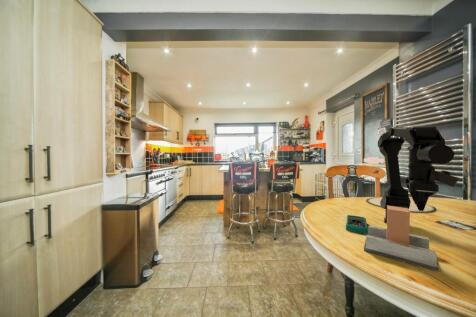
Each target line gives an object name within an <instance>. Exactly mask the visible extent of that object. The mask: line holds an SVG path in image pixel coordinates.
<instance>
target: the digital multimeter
mask: <svg viewBox="0 0 476 317" xmlns="http://www.w3.org/2000/svg"><path fill="white" fill-rule="evenodd" d="M368 229H369V227H368V225H367V218H366V217H363V216H358V215H351V214H348V215H346V224H345V230H346V231H347V232H348V231H349V232H352V233H353V232H354V233H357V234H364V235H367V234H368Z"/></svg>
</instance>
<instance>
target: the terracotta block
mask: <svg viewBox="0 0 476 317" xmlns="http://www.w3.org/2000/svg"><path fill="white" fill-rule="evenodd" d="M410 219H411V211H410V208H409V209H408V208H402V207H395V206H388V205H387V223H386V229H387V240H391V241H395V242H400V243H404V244H408V245H409V234H410V225H411V224H410V223H411V220H410Z"/></svg>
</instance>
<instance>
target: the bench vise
mask: <svg viewBox="0 0 476 317" xmlns="http://www.w3.org/2000/svg"><path fill="white" fill-rule="evenodd" d="M363 251H365V252H368V253H371V254H375V255H378V256H381V257H386V258H389V259H392V260H397V261H399V260H400V261H399V262H403V261H404V263H406V264H409V265H410V264H411V265H413V266H416V267H421V268H425V269H428V270H431V271H434V272H440V267H439V264H438V263H437V262H438V261H437V258H438V254H437V251H436V250H434V249H430V238H429V237H427V236H423V235H418V234H413V233H409V245H408V244H404V243H400V242H395V241H391V240H387V228H383V227H379V226H375V225H368V234H366V236H365V242H364V246H363Z"/></svg>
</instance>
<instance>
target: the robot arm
mask: <svg viewBox="0 0 476 317" xmlns="http://www.w3.org/2000/svg"><path fill="white" fill-rule="evenodd" d="M405 142H406V143H408V144H409V146H408V147H407V148H406V149H407V150H408V165H407V168H408V174H407V175H408V176H406V177H405V180H404V181H405V186H406V188H407V189H405V188H404V187H403V184H402V179H401V170H400V169H401V168H400V163H399V153H400V151H401V150H402V146H403V145H404V144H405ZM377 147H378V148H379V149H378V150H379V152H380V154H382V156H383V157H384V164H385V172H386V175H385V176H386V185H387V187H386V188H385V190H384V192H383V196H382V198H381V200H380V202H379V204H380V207H381V208H382V209H384V210H385V212H384V213H385V217H383V222H384V223H386V224H387V205H388V206H395V207H402V208H408V209H409V210H410V207H411V203H412V201H413V203H414V205H415V206H416V208H417V210H418V211H419V212H424V210H425V208H426V207H427V206H426V205H427V203H428V200H429V198H430V197H431V196H433V195H436V194H437V193H439V188H440V187H439V186H440V185H438V184H437V183H436V182H438V183H441V184H445V185H447V186H449V187H452V188H455V187H456V186H457V183H458V182H459V180H460V177H458V176H454V175H451V172H450V171H447V170H444V169H443V170H441V171H437V170H436V167H435V166H434V165H433V164H435V165H445V164H448V163H449V162H451V161H452V160H453V159H454V157H455V152H454V150H453V149H452V148H451V146H449V145H446V140H445V138H444V137H443V135H442V134H441V132H440V131H439V129H438V128H437V126H436V125H418V126H417V125H416V126H414V125H413V126H407V127H405V126H391V127H389V128H388V129H387V131H386V132H385V133H383V134H381V135H380V136H379V138H378V141H377ZM409 194H410V196H409ZM410 197H411V198H410ZM411 199H412V201H411Z"/></svg>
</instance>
